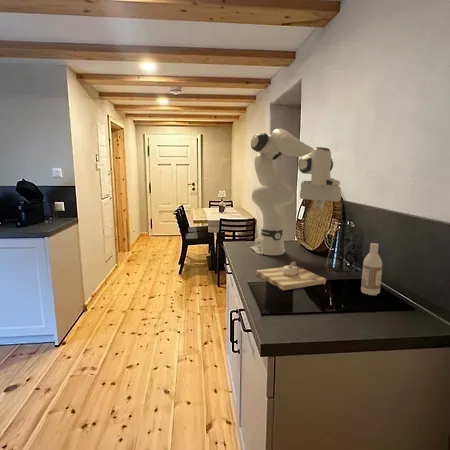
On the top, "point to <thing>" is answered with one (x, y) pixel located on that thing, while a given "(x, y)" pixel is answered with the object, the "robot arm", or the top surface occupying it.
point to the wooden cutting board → (290, 278)
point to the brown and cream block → (290, 269)
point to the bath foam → (372, 272)
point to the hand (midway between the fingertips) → (318, 209)
